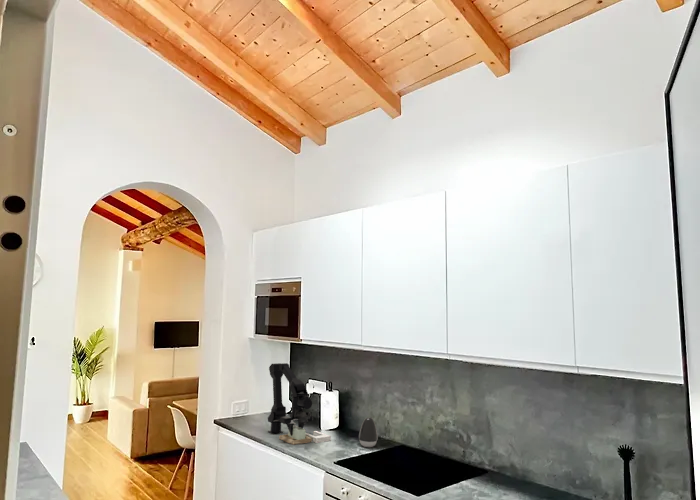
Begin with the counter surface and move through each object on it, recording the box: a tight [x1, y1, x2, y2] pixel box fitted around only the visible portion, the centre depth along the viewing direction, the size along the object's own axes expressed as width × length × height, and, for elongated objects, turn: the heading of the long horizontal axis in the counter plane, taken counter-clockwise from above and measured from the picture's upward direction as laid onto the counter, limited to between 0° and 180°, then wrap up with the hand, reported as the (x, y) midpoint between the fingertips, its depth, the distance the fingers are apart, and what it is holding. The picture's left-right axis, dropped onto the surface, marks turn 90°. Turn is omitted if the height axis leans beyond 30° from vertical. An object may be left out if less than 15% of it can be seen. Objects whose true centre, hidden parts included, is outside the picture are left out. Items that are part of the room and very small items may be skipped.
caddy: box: [287, 421, 307, 440], centre depth 284 cm, size 12×5×7 cm, turn 37°
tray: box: [278, 433, 313, 446], centre depth 284 cm, size 14×12×2 cm
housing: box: [305, 430, 332, 444], centre depth 289 cm, size 14×10×2 cm
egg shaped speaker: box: [358, 416, 379, 448], centre depth 279 cm, size 10×10×15 cm
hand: (295, 434), depth 284 cm, fingers closed on caddy, 5 cm apart
